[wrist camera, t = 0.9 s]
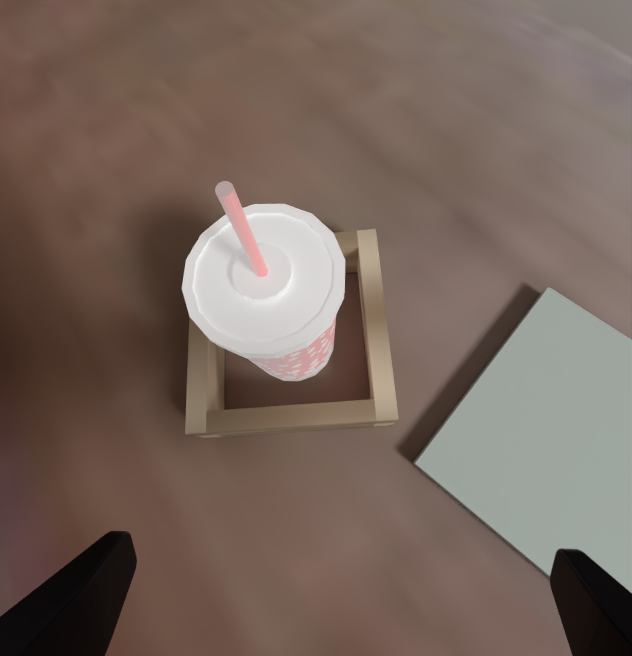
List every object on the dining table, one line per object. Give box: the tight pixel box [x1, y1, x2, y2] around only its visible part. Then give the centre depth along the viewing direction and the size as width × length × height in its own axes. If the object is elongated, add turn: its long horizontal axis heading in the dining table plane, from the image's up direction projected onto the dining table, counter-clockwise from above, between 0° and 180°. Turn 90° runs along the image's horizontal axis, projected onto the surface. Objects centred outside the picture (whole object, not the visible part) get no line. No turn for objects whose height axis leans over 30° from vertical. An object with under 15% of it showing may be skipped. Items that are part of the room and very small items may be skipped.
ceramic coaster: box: [412, 287, 632, 593], centre depth 21 cm, size 12×12×1 cm
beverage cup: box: [182, 181, 345, 381], centre depth 17 cm, size 6×6×14 cm
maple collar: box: [185, 229, 398, 438], centre depth 22 cm, size 10×10×3 cm
